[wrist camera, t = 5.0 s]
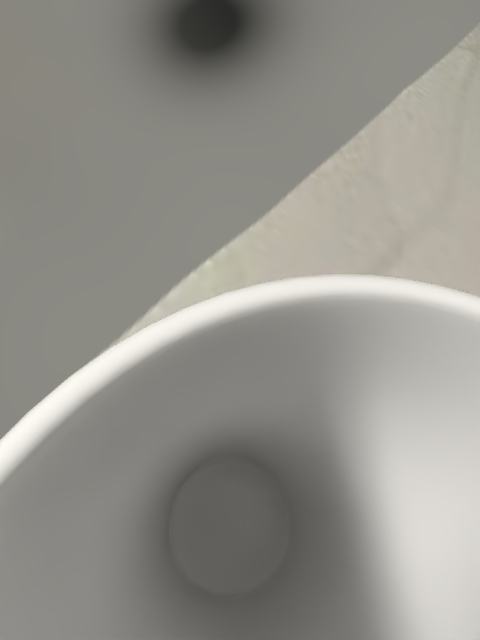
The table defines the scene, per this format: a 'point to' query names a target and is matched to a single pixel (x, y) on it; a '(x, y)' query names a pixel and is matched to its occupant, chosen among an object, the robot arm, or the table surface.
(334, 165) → the table surface
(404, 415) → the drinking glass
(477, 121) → the table surface
